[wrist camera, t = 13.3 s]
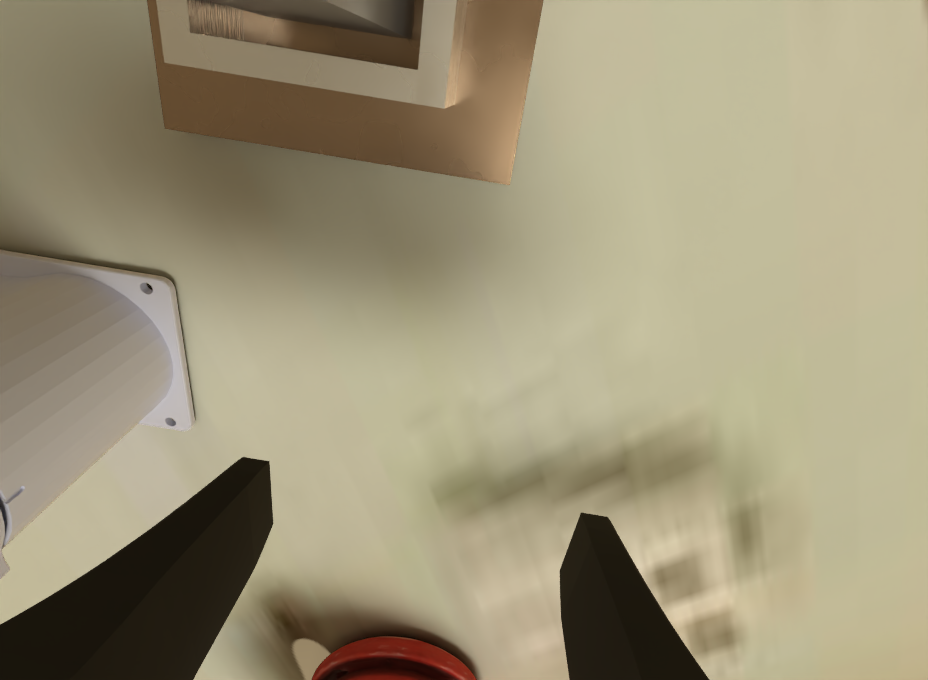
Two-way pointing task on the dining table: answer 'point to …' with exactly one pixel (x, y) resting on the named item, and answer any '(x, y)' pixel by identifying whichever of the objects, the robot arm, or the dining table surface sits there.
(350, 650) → the plant pot
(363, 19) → the block
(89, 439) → the robot arm
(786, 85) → the dining table surface
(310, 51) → the duct collar
